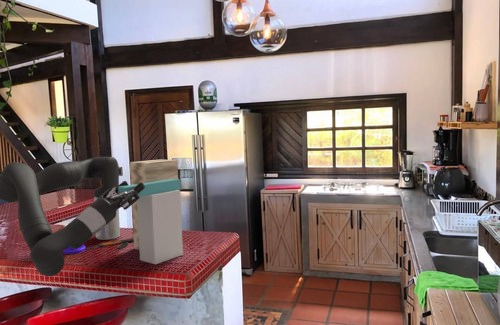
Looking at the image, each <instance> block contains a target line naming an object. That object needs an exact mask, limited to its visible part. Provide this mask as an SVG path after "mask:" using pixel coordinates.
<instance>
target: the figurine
mask: <svg viewBox="0 0 500 325" xmlns="http://www.w3.org/2000/svg"><path fill="white" fill-rule="evenodd" d="M85 249H86V245H84V244H83V245H82V246H81V247H79V248H77V249H72V248H70V247H68V248H67V249H65V250H64V251H62V254H63V255H64V254H65V255H74V253H75V254H80V253H84V252H85V251H86V250H85Z"/></svg>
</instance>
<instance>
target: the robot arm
mask: <svg viewBox="0 0 500 325" xmlns="http://www.w3.org/2000/svg"><path fill="white" fill-rule="evenodd" d="M84 180H85V181H86V180H103V182H102V185H101V186H100V187H98V188H95V189H94V190H93V200H94V201H93V202H91V204H89V205H88V206H87V207H86V208H84V209H83V210H82V211H81V212H80V213H78V215H77V216H76V217H75V218H74V219H72V220H71V221H69V223H67V224H66V225H65V226H64V227H63V228H61V229H59V230H56V231H54V232H53V230H52V227H51V225H50V222H49V220H48V218H47V216H46V214H45V211H44V208H43V204H42V200H41V194H45V193H48V192H49V193H50V192H52V191H57V190H61V189H67V188H70V187H74V186H76V185H79V184H80V183H81V182H82V181H84ZM127 185H129V183H128V182H127V181H126V180H123V181H122V182H120V166H119V163H118V160H117V159H116V157H113V156H95V157H92V158H91V157H90V158H88V159H85V160H80V161H76V160H75V161H73V160H70V161H63V162H57V163H53V164H50V165H47V167H45V168H43V169H42V170H40V171H38V172H36V173H35V171H34V169H33V168H31V166H29V165H27V164H26V163H23V162H18V161H12V162H10V163H8V164H6V165H5V167H4V168H3V169H2V171H1V173H0V200H1V201H5V202H9V203H15V202H17V206H18V207H17V208H18V210H17V211H18V212H17V216H18V218H17V219H18V226H19V229H20V231H21V234H22V237H23V239H24V242H25V243H26V245H27V247H28V248H29V251H30V255H29V257H30V260H31V262H32V263H33V265H34V267H35V269H36V271H37V273H39V274H40V275H42V276H45V277H53V276H54V277H55V276H56V275H58V274H59V273H61V271H63V268H64V267H65V256H64V253H63V251H64V250H65V249H67V248H68V247H70V248H72V249H77V248H79V247H81V246H82V245H84V244H85V243H87V242H88V241H89V240H90V239H91V238H92V237H94V236H95V238H96V240H101V241H102V240H105V241H107V240H113V239H118V238H119V237H120V236H121V230H120V227H121V226H120V223H121V222H120V208H122V209H123V210H124V211H126V210H127V209H128V210H129V208H130V207H132V204H133V203H135V202H136V201H137V200H138V199H139V198H140V197H139V195H138V194H139V193H140V192H141V191H142V190H143V189H144V188H145V186H144V184H143V183H141V182H140V183H139V184H138V185H137V186H135V187H134V188H133V189H132V190H130V191H128V192H126V191H125V192H122V193H120V194H119V193H118V187H120V186H127ZM129 194H130V195H129ZM128 195H129V196H128ZM124 196H125V197H126V198H125V197H124ZM132 199H133V200H132Z"/></svg>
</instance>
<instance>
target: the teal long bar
mask: <svg viewBox="0 0 500 325" xmlns="http://www.w3.org/2000/svg"><path fill="white" fill-rule="evenodd" d="M143 184H144V186H145V188H144V189H143V190H142V191H141V192H140V193H139V194H138V195H139V197H140V196H146V195H152V194H157V193H163V192H168V191H174V190H180V191H181V179H179V178H178V179H168V180H161V181H154V182H147V183H143ZM137 185H138V184H134V185H131V184H128V185H127V186H120V187H118V193H119V194H120V193H122V192H125V191H126V192H128V191H130V190H132V189H133V188H134V187H135V186H137ZM129 195H130V194H129ZM129 195H128V196H129ZM124 197H125V196H124ZM125 198H126V197H125Z"/></svg>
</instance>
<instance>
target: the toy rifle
mask: <svg viewBox="0 0 500 325" xmlns="http://www.w3.org/2000/svg"><path fill="white" fill-rule="evenodd" d="M129 243H131V244H132V243H134V237H131V238H126V239H120V240H116V241H109V242H103V243H99V244H98V245H95V246H90V247H87V248H86V249H85V251H86V250H92V249H93V250H94V249H99V247H100V248H104V247H112V246H117V247H116V249H117V250H123V249H125V248H127V247H128V246H129ZM118 245H119V246H118Z"/></svg>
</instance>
